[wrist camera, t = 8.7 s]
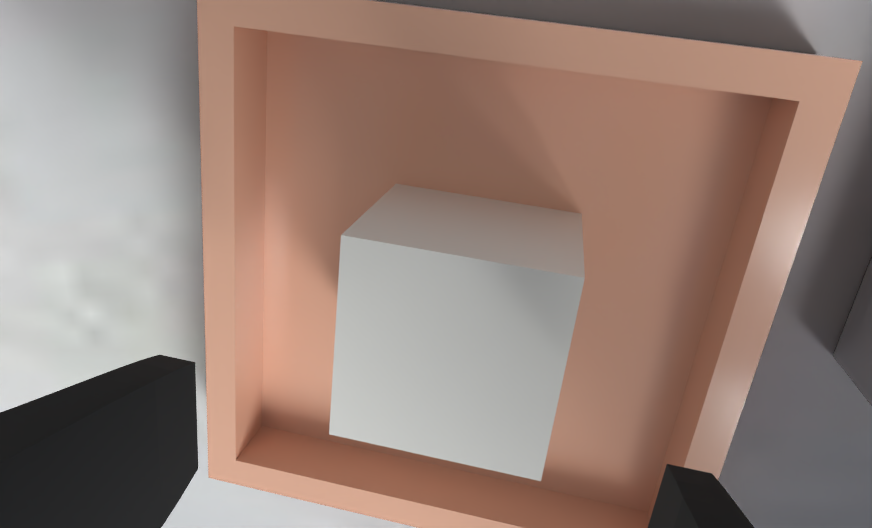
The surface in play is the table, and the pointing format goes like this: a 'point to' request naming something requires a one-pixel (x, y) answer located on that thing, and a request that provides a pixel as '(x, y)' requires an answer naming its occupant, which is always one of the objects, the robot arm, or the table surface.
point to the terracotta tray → (513, 182)
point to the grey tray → (858, 339)
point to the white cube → (455, 327)
